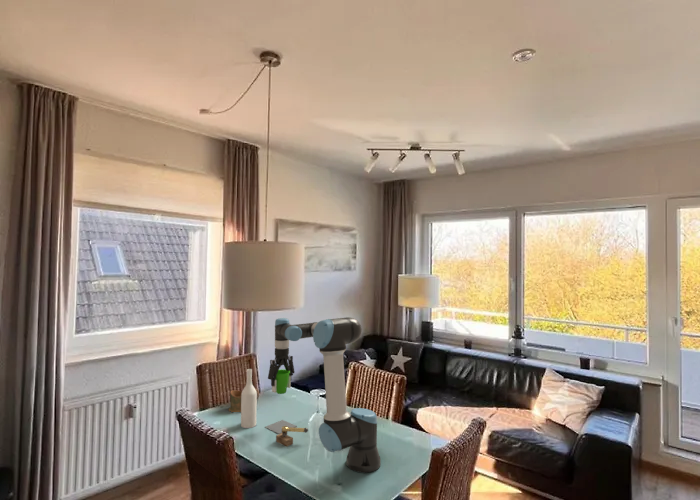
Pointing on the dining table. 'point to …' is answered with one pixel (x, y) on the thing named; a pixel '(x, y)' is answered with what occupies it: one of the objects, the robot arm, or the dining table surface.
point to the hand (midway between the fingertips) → (281, 389)
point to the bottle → (248, 403)
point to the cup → (282, 381)
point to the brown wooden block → (284, 439)
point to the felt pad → (279, 426)
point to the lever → (293, 429)
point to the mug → (236, 401)
